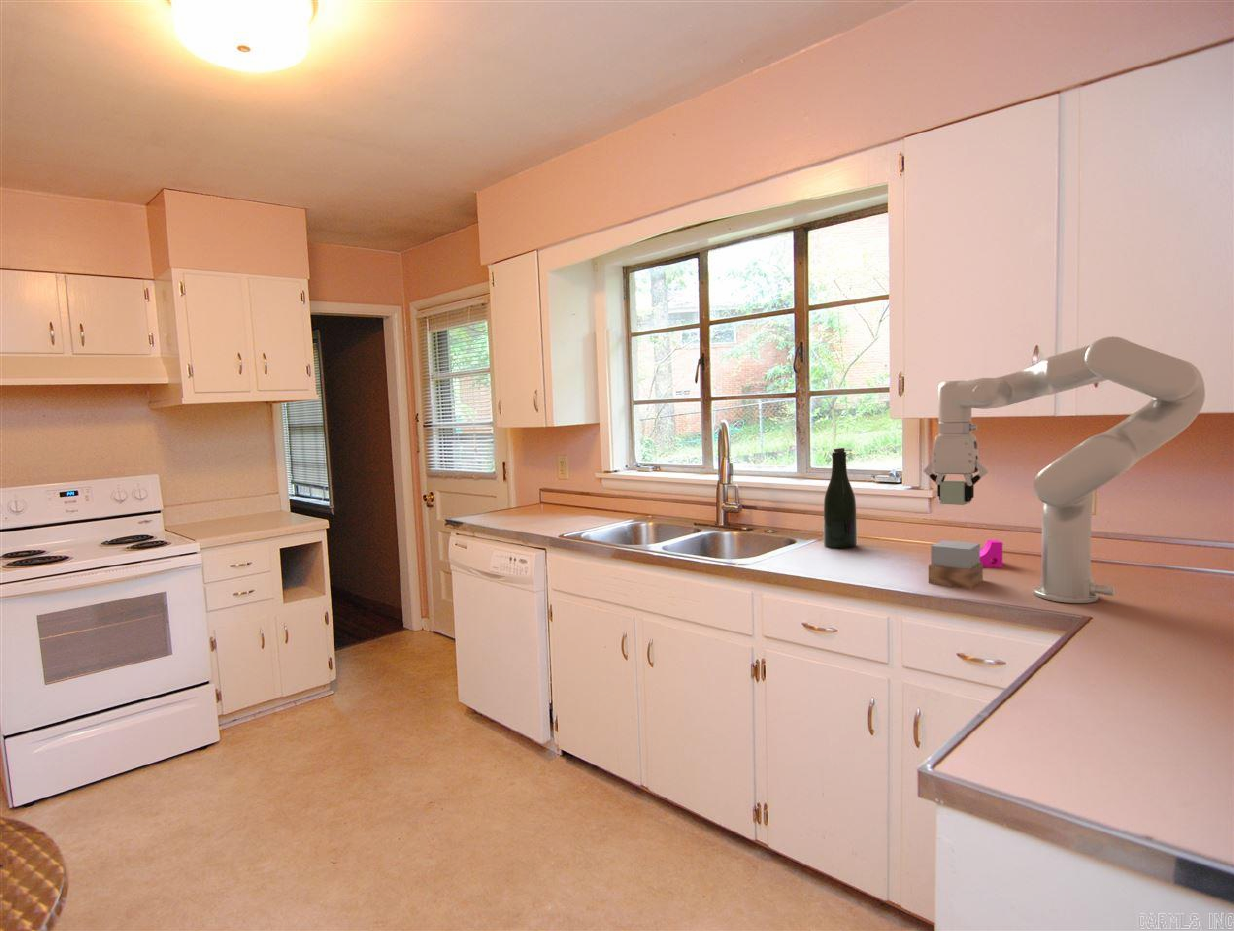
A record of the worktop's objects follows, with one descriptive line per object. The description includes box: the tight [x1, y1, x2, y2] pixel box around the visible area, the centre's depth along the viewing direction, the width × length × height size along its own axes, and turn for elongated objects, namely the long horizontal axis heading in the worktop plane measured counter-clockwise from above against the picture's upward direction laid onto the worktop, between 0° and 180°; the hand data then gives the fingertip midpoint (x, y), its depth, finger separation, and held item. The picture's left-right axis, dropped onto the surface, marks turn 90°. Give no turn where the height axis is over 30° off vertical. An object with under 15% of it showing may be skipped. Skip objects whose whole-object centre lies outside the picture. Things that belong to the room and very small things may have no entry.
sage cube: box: [939, 479, 971, 506], centre depth 171 cm, size 6×6×6 cm
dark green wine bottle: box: [823, 447, 858, 550], centre depth 219 cm, size 10×10×33 cm
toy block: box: [939, 539, 1003, 568], centre depth 188 cm, size 15×6×8 cm, turn 79°
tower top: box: [930, 539, 981, 569], centre depth 172 cm, size 9×9×5 cm
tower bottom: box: [928, 562, 984, 590], centre depth 172 cm, size 10×10×5 cm
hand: (955, 499), depth 171 cm, fingers closed on sage cube, 5 cm apart
